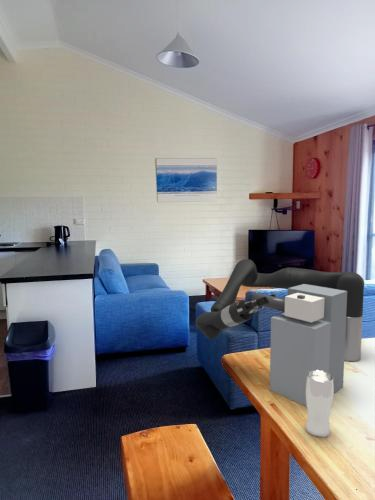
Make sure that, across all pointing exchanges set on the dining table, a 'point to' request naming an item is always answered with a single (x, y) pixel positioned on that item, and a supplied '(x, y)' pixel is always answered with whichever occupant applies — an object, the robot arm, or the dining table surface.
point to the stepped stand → (308, 344)
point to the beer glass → (318, 402)
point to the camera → (296, 305)
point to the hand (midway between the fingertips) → (270, 298)
